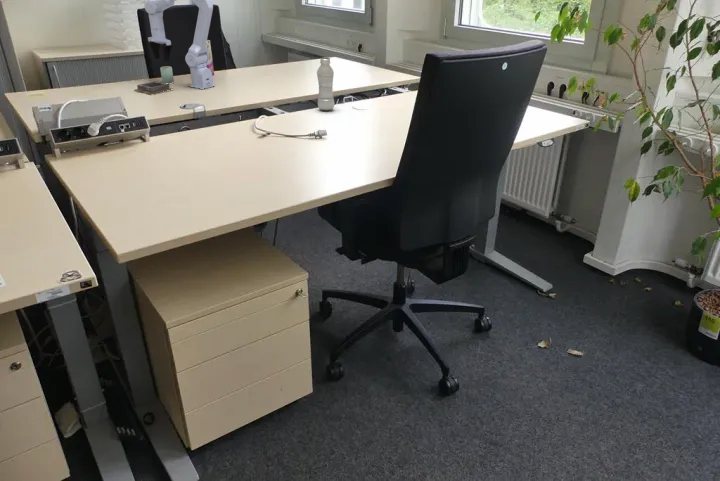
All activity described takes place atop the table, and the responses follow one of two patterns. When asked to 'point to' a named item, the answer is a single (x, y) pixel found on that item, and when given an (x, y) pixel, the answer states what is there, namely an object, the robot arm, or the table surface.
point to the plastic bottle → (325, 85)
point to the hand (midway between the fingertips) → (162, 59)
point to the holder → (152, 87)
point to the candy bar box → (210, 61)
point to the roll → (167, 74)
